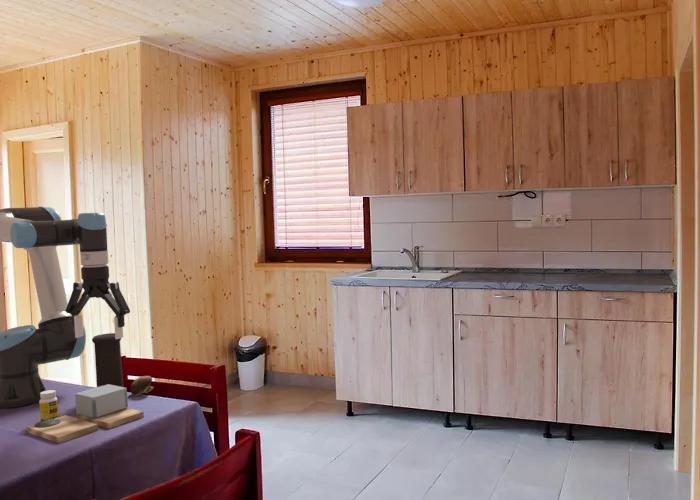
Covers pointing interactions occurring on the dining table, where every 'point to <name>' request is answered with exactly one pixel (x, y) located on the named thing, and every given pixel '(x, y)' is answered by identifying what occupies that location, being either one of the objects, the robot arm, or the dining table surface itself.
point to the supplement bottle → (48, 405)
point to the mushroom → (141, 385)
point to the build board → (62, 428)
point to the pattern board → (113, 418)
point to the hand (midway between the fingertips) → (99, 337)
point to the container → (108, 360)
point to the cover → (101, 400)
